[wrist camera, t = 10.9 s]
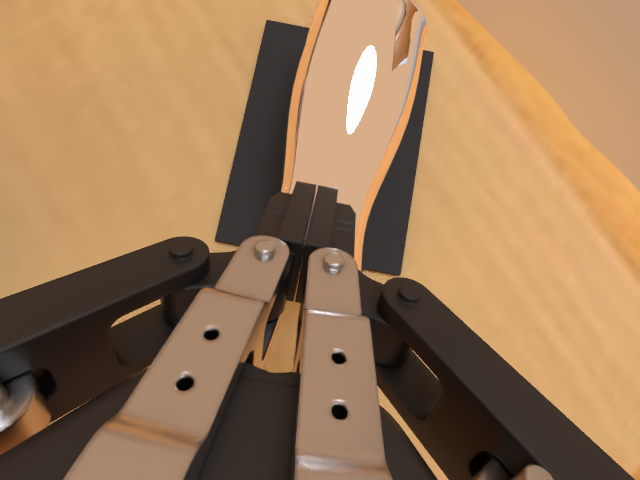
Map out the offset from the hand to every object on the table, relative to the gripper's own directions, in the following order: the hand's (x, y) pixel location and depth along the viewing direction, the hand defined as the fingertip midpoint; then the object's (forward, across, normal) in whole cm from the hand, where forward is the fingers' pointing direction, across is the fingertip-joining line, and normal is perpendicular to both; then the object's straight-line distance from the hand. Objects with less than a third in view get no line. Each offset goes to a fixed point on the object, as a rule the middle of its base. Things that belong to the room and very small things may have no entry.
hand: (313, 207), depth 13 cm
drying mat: (+12, 0, +2) cm, 12 cm away
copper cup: (+4, 0, +7) cm, 8 cm away
